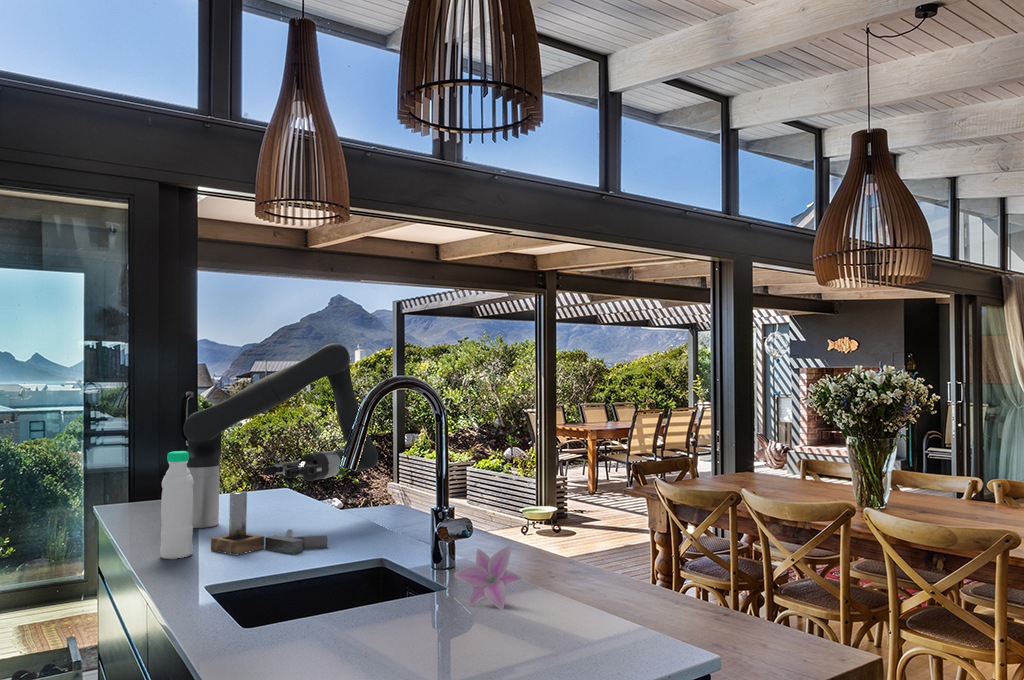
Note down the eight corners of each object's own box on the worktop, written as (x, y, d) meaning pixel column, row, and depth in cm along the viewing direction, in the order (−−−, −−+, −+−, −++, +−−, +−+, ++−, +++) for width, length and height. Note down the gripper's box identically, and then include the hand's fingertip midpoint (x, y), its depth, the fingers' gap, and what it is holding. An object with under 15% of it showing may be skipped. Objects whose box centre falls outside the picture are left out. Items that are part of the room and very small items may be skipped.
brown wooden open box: (210, 550, 180) (211, 538, 180) (237, 543, 187) (238, 532, 187) (237, 555, 175) (237, 542, 175) (264, 548, 182) (264, 536, 182)
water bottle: (169, 561, 169) (171, 453, 171) (154, 557, 174) (156, 452, 175) (198, 555, 175) (199, 451, 176) (182, 551, 179) (184, 449, 181)
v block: (259, 548, 182) (259, 536, 182) (290, 540, 190) (290, 529, 190) (299, 555, 174) (299, 542, 175) (329, 547, 183) (329, 535, 183)
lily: (448, 602, 141) (444, 565, 136) (490, 568, 148) (487, 532, 144) (494, 635, 133) (491, 596, 129) (534, 597, 141) (533, 560, 137)
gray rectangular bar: (225, 550, 180) (226, 493, 181) (239, 546, 184) (239, 491, 184) (236, 552, 178) (236, 494, 179) (249, 548, 182) (250, 492, 182)
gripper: (302, 451, 209) (256, 457, 195) (338, 453, 202) (293, 459, 188) (302, 477, 209) (256, 485, 195) (339, 480, 201) (293, 488, 187)
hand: (274, 472), depth 191 cm, fingers open, 8 cm apart
